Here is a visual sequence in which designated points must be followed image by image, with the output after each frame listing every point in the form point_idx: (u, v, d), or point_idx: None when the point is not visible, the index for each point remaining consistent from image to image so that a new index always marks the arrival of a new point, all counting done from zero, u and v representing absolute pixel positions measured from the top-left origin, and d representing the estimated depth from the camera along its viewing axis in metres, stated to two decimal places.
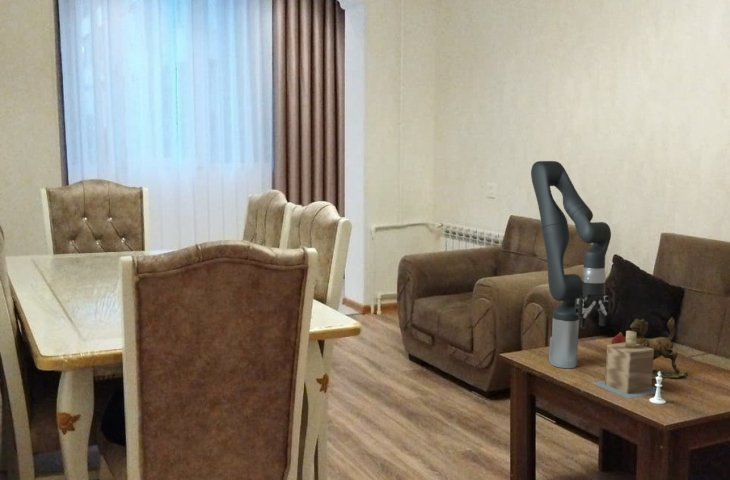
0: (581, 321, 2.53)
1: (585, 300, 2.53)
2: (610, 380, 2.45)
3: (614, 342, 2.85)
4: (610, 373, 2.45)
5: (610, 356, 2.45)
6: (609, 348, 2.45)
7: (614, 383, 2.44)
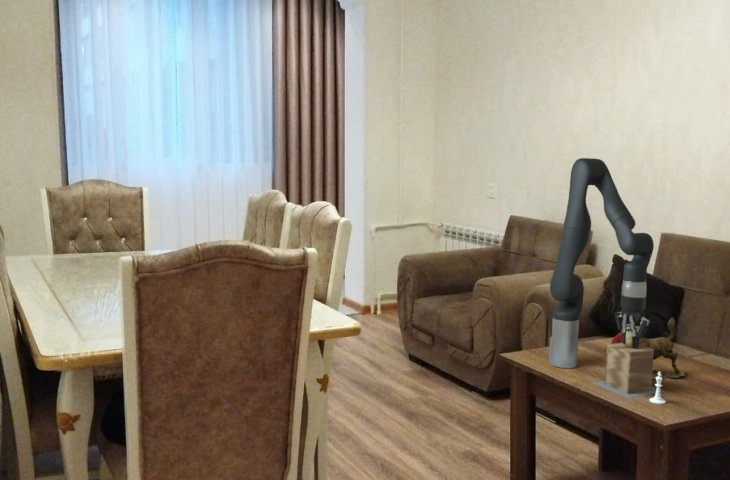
0: (638, 340, 2.41)
1: None
2: (610, 380, 2.45)
3: (614, 342, 2.85)
4: (610, 373, 2.45)
5: (610, 356, 2.45)
6: (609, 348, 2.45)
7: (614, 383, 2.44)
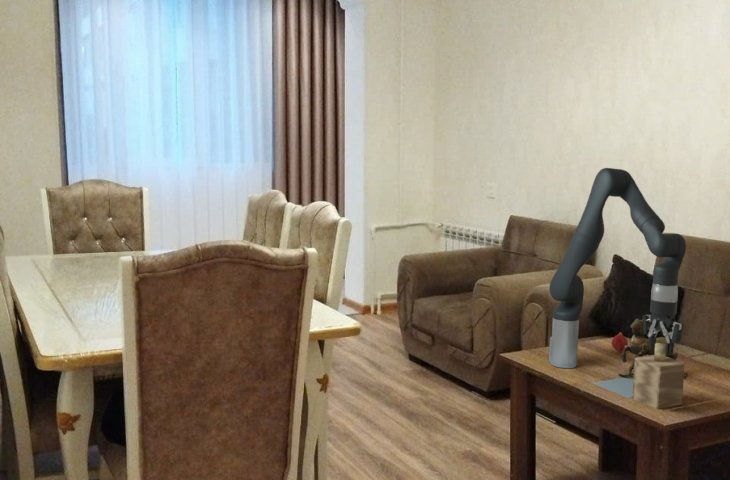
0: (672, 347, 2.26)
1: None
2: (638, 395, 2.32)
3: (614, 342, 2.85)
4: (638, 388, 2.32)
5: (638, 370, 2.31)
6: (637, 361, 2.32)
7: (642, 398, 2.30)
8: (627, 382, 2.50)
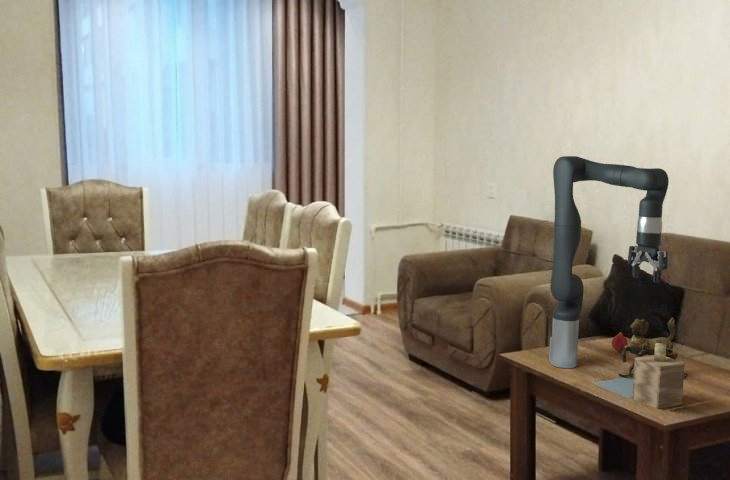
0: (660, 275, 2.36)
1: None
2: (638, 395, 2.32)
3: (614, 342, 2.85)
4: (638, 388, 2.32)
5: (638, 370, 2.31)
6: (637, 361, 2.32)
7: (642, 398, 2.30)
8: (627, 382, 2.50)
